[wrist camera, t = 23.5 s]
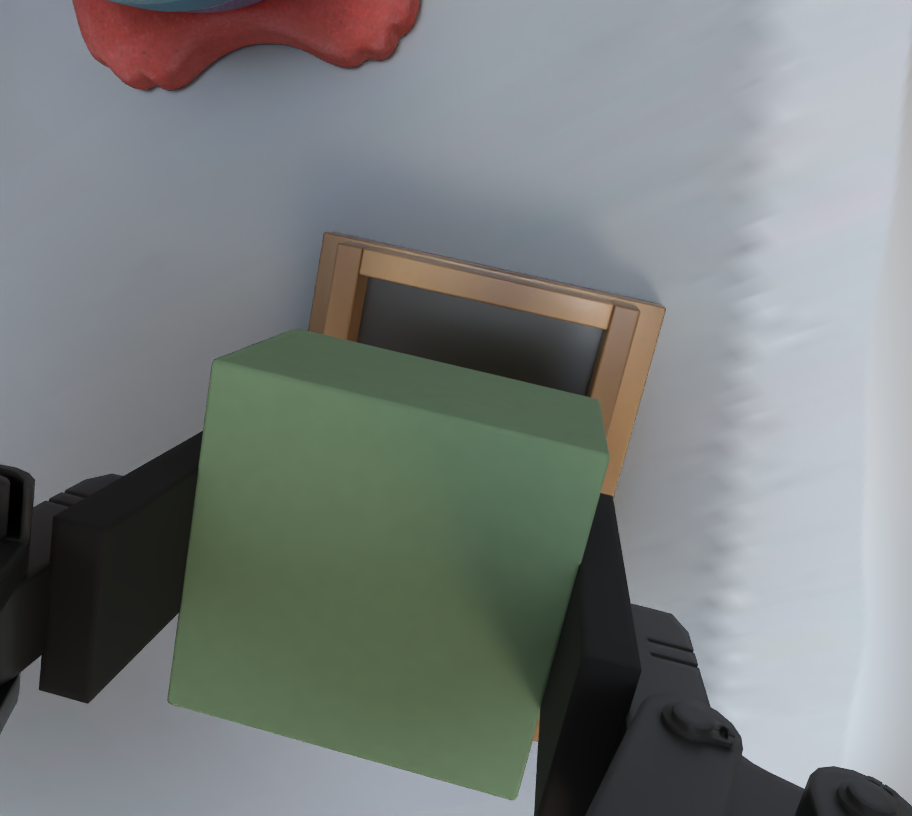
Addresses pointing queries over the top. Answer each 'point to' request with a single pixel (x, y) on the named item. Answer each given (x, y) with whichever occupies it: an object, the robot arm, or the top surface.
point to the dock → (492, 325)
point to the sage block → (384, 553)
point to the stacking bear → (233, 32)
